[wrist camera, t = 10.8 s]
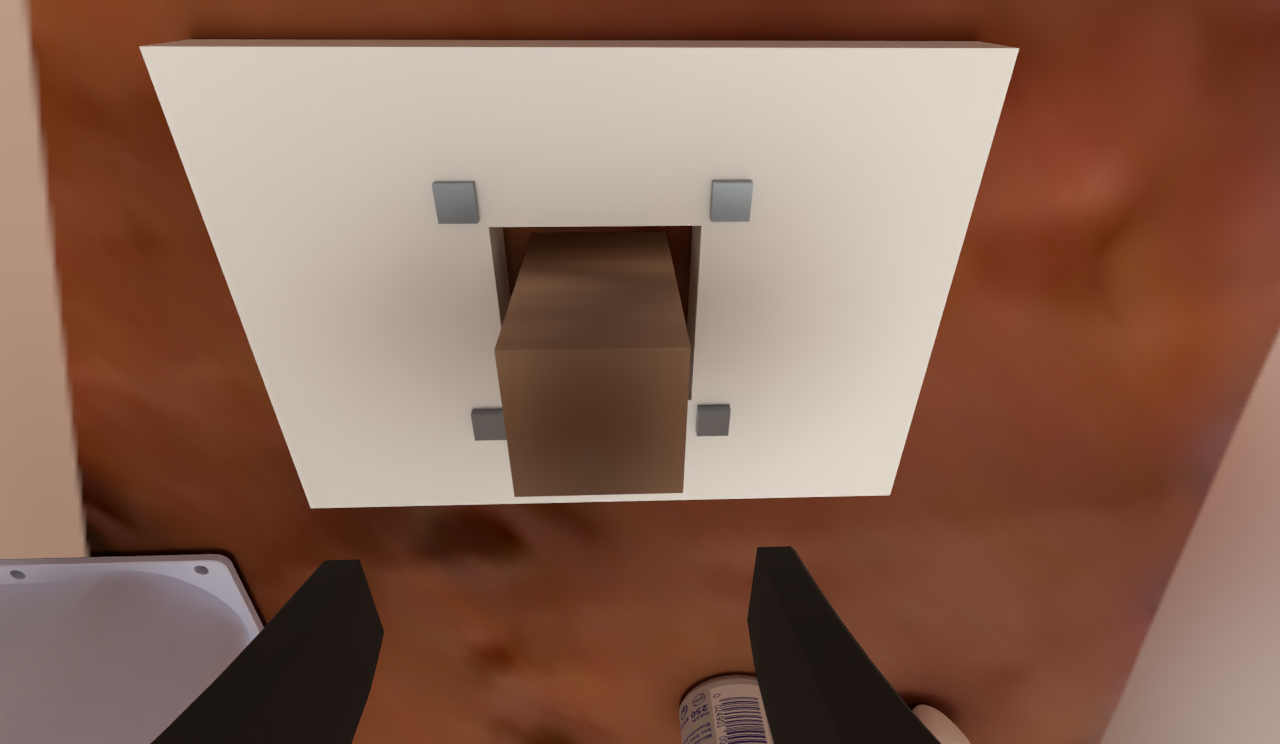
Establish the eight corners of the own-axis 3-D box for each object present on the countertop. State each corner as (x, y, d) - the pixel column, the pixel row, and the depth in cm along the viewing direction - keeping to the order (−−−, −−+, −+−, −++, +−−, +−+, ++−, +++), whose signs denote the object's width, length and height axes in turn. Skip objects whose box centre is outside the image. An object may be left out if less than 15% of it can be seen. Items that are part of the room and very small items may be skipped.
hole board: (332, 469, 23) (307, 514, 21) (190, 39, 16) (130, 47, 14) (870, 458, 24) (893, 501, 22) (977, 41, 16) (1026, 49, 14)
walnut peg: (542, 349, 21) (514, 497, 15) (531, 232, 19) (494, 350, 13) (663, 347, 21) (683, 493, 15) (666, 231, 19) (690, 347, 13)
